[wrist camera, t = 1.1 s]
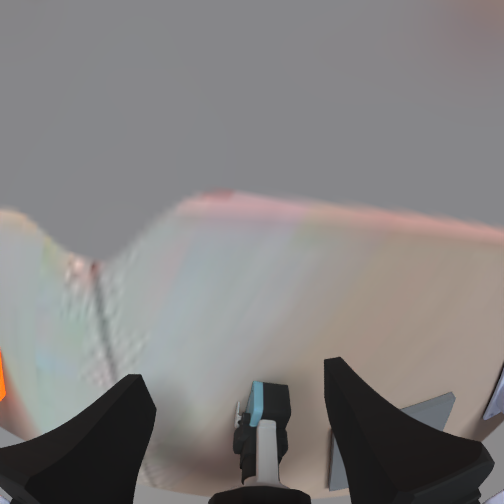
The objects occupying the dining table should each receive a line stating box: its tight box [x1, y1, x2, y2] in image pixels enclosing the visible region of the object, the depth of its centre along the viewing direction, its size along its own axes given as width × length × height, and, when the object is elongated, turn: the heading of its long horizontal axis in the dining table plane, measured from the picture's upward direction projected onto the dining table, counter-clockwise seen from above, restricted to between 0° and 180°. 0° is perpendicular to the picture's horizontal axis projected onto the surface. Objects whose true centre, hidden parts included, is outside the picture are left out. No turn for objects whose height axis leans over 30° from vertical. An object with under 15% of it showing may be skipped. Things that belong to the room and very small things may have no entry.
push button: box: [208, 381, 311, 504], centre depth 13 cm, size 7×5×10 cm
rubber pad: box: [328, 392, 456, 491], centre depth 19 cm, size 10×10×1 cm
